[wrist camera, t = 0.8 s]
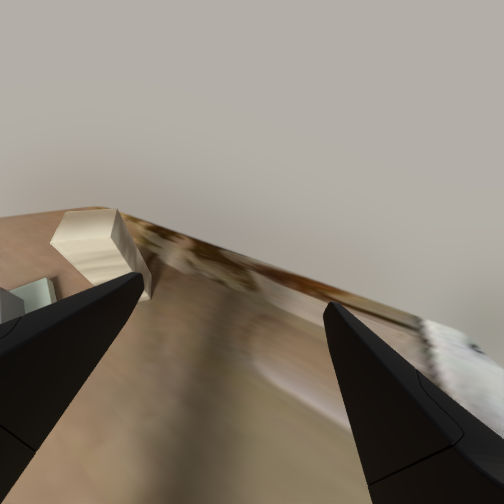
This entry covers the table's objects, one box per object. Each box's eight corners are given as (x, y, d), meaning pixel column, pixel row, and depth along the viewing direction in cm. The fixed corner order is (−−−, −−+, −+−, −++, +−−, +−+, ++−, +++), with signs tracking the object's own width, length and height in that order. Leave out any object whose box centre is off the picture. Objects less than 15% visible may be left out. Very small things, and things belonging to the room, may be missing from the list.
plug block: (150, 299, 24) (110, 236, 15) (116, 306, 23) (49, 242, 14) (151, 275, 26) (117, 208, 17) (120, 280, 25) (66, 211, 16)
